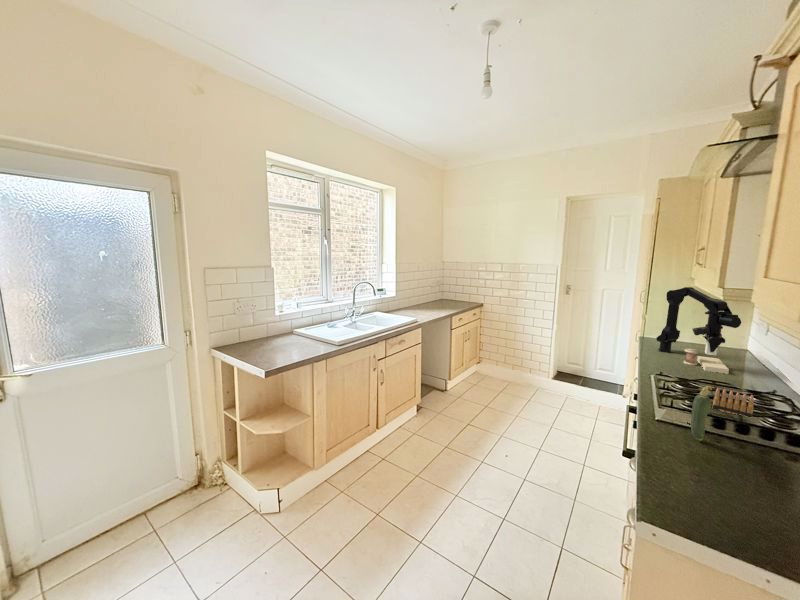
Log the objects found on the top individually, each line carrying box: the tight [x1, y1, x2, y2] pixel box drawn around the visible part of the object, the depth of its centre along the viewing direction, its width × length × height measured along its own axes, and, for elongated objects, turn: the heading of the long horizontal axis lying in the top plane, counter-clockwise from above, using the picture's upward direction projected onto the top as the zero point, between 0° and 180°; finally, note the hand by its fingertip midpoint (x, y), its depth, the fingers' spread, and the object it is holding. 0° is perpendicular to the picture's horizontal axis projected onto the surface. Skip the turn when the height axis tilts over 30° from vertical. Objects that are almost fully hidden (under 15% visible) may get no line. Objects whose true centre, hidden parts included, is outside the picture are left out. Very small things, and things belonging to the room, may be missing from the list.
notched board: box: [696, 355, 730, 375], centre depth 176 cm, size 20×9×3 cm, turn 146°
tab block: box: [704, 339, 718, 356], centre depth 176 cm, size 4×4×7 cm
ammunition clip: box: [711, 387, 755, 418], centre depth 120 cm, size 11×2×12 cm, turn 44°
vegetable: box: [690, 385, 713, 442], centre depth 108 cm, size 4×4×20 cm
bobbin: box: [682, 348, 700, 366], centre depth 181 cm, size 6×6×8 cm
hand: (710, 351), depth 176 cm, fingers closed on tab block, 4 cm apart
